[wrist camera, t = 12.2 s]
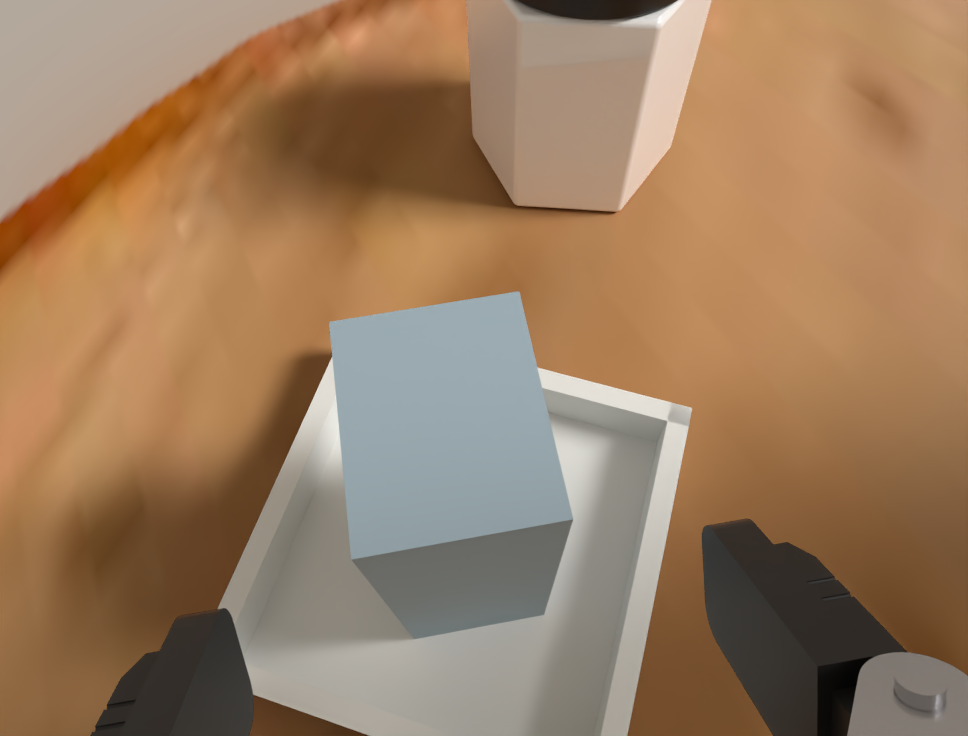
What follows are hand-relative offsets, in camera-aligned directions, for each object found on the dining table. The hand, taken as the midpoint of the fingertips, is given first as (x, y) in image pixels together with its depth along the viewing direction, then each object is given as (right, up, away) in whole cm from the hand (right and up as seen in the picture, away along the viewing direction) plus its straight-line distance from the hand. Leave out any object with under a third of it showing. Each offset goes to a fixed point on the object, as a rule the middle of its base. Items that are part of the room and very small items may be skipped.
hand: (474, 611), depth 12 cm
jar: (+4, +14, +21) cm, 26 cm away
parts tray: (-1, -2, +13) cm, 13 cm away
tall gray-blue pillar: (0, -2, +12) cm, 12 cm away
